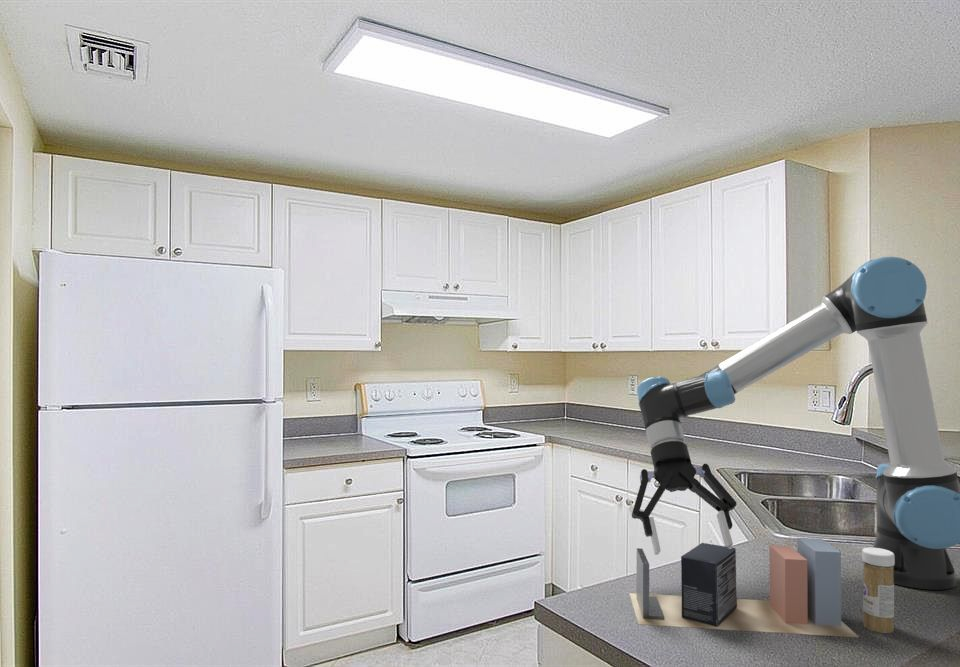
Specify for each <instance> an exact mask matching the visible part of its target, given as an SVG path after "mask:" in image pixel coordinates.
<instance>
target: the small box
mask: <svg viewBox="0 0 960 667" xmlns="http://www.w3.org/2000/svg"><path fill="white" fill-rule="evenodd" d="M736 553H737V549H736V547H732V546H731V547H725V545H717V544H712V543H707V542H706V543H705V542H701V543H700V544H698V545H697V546H695V547H693V548H692V549H690V550H689V551H687V552H686V553H684V554H683V555H681V556H680V565H681V566H680V568H681V569H680V572H681V579H680V580H681V585H680V586H681V590H680V591H681V596H682V618H685V619H689V620H693V621H697V622H701V623H704V624H708V625H712V626H716V627H718V626H719V625H720V624H721V623H722V622H723V621H724V620H725V619H726V618H727V617H728V616H729V615H730V614H731V613H732V612H733V611H734V610H735V609H736V608H737V599H738V598H737V560H736V559H737V554H736Z"/></svg>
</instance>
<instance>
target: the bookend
mask: <svg viewBox="0 0 960 667" xmlns="http://www.w3.org/2000/svg"><path fill="white" fill-rule="evenodd" d="M649 594H650V563H649V561H648V558H647V556H646V553H645V551H644V549H643V548H636V599H637V602H638V605H639V608H640V611H641V614H642V617H643V618H644V619H661V620H664V614H663V612H662V609H661V607H660V605H659V602H658V600H657V597H652V596H649Z"/></svg>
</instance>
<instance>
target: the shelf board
mask: <svg viewBox="0 0 960 667" xmlns="http://www.w3.org/2000/svg"><path fill="white" fill-rule="evenodd" d="M628 594H629V597H630V600H631V604H632V606H633V610H634V613H635V617H636V621H637V623H638V625H641V626H655V627H656V626H659V627H673V628H674V627H675V628H690V629H691V628H692V629H693V628H694V629H709V630H726V631H740V632H741V631H743V632H757V633H758V632H760V633H774V634H775V633H776V634H794V635H808V636H809V635H810V636H827V637H842V638H843V637H845V638H859V635H858V634H856V633H855V632H854V631H853V630H852V629H851V628H850V627H848V625H847V624H845V623H844V622H843V621H842V620H841V626H827V625H815V624H814V623H813V622H812V621H811V620H810V618H809V617H808V624H792V623H785V622H784V621H783V620H782V619H781V617H780V616H779V615H778V614H777V613H776V612H775V610H774V609H773V608H772V607H771V606H770V600H767V599H766V600H765V599H764V600H763V599H745V598H742V599H741V598H737V608H736V609H735V610H734V611H733V612H732V613H731V614H730V615H729V616H728V617H727V618H726V619H725V620H724V621H723V622H722V623H721V624H720V625H719V626H718V627H716V626H712V625H708V624H704V623H701V622H697V621H693V620H689V619H685V618H682V595H673V594H672V595H671V594H653V593H651V594H650V593H649V596H652V597H657V600H658V602H659V605H660V607H661V609H662V612H663V614H664V620H661V619H644V618H643V617H642V614H641V611H640V608H639V605H638V602H637V599H636V593H634V592H631V593H630V592H629V593H628Z"/></svg>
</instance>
